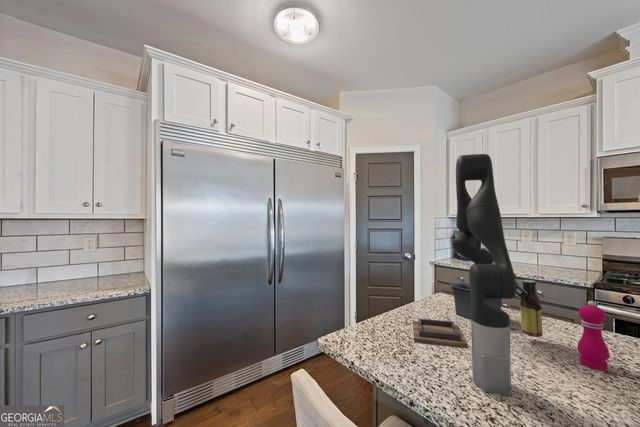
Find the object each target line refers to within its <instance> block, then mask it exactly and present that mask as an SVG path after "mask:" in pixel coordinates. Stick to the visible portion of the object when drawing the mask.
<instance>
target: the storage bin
mask: <svg viewBox="0 0 640 427" xmlns="http://www.w3.org/2000/svg"><path fill="white" fill-rule="evenodd" d="M449 286H450V290H451V291H453V292H452V293H453V300H454V309H455V313H456V315H457V316H461V317H464V318H467V319H471V294H470V283H469V282H467V281H466V282H465V281H464V282H463V281H461V282H456V283H450V284H449ZM502 300H503V299H500V298H486V297H485V298H484V301H485V302H486V303H487V304H489V305H491V306H493V307H495V308H498V309H500V310H502V303H503V301H502Z"/></svg>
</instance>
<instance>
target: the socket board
mask: <svg viewBox="0 0 640 427" xmlns="http://www.w3.org/2000/svg"><path fill="white" fill-rule="evenodd" d="M412 326H413V342H414V343H420V344H421V343H422V344H430V345H437V346H444V347H445V346H448V347H453V348H454V347H456V348H464V349H468V342H467V340H466V338H465V336H464V334H463V332H462V330H461V328H460V326H459V325H458V324H456V323H455V321H452V320H451V321H450V320H439V319H430V318H429V319H428V318H417V321H416V320H412Z"/></svg>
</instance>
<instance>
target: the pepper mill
mask: <svg viewBox="0 0 640 427" xmlns="http://www.w3.org/2000/svg"><path fill="white" fill-rule="evenodd" d="M578 316H580V318H581V320H580V324H581V326H582V327H583V332H582V336H581V337H580V339H579V340H578V341H577V345H576V346H577V347H576V348H577V351H578V353H579V354H580V355H579V363H580V364H581V365H582V366H584V367H587V368H589V369H592V370H597V371H608V369H609V366H608V362H607V360H608V359H609V358H610V350H609V348H608V346H607V344H606V342H605V340H604V338H603V335H602V333H603V332H602V330H603V329H604V323H603V322H604V321H605V320H606V317H607V316H606V313H605V312H604V311H603V309H602V308H600V307H598V306H596V302H595V301H594V300H589V301H587V304H585V305H581V307H579V310H578Z"/></svg>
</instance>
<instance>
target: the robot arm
mask: <svg viewBox="0 0 640 427" xmlns="http://www.w3.org/2000/svg"><path fill="white" fill-rule="evenodd" d="M494 180H495V179H494V169H493V162H492V159H491V156H490V155H489V154H487V153H475V154H473V153H471V154H461V155H459V156H458V158H457V160H456V163H455V187H456V193H455V194H456V201H457V202H456V204H457V205H456V208H457V210H456V211H457V212H456V224H455V225H456V228H457V230H458V235H457V236H455V237H454V238H453V240H452V242H451V245H452V248H453V250H454V251H455V252H456V253H457V254H459V255H461V256H462V257H463V258H465V259H466V260H469V261H470V262H472V264H471V266H470V267H469V270H468V276H469V277H468V280H469V281H468V283H470V294H471V325H470V326H471V360H472V361H471V362H472V365H471V366H472V367H471V369H472V382H473V383H474V384H475V385H476V386H477V387H479V388H480V389H481V390H482V392H485V393H493V394H499V395H504V396H505V395H506V396H510V395H511V391H512V362H511V361H512V360H511V319H510V315H509V314H508V313H507V312H506V311H505V310H503V309H501V310H500V309H498V308H495V307H493V306H491V305H489V304H487V303H486V302H485V301H484V298H485V297H486V298H500V299H502V300H510V299H511V300H512V299H514V298H515V297H516V296H517V297H518V299H520V300H521V299H523V300H524V301H525V303H527V304H529V305H530V306H531V307H532V308H533V309H534V310H536V311H539V310H540V309H541V310H542V306H539V305H538V304H537V303H536V302H535V301H534V300H533V298H532V297H530V296H529V295H528V293H527V292H526V291H525V290H524V289H523V287H522V286H523V285H521V284H519V282H517V281H516V279H517V275H516V273H515V272H514V268H513V265H512V263H511V262H512V261H511V258H510V256H509V255H510V254H509V251H508V248H507V245H506V240H505V235H504V228H503V220H502V214H501V211H500V205H499V202H498V198H497V194H496V189H495V188H496V187H495V181H494ZM467 181H481V184H480V187H479V189H478V190H477V192H476V193H475V195H474V196H473V197H471V196H470V194H469V192H468V189H467V187H466V182H467ZM477 241H479V242H480V243H481V245H483V246H484V248H480V249H478V248H476V247H475V245H476V242H477ZM485 248H486V249H485ZM525 296H528V297H529V298H528V299H526V300H525V299H524V297H525Z"/></svg>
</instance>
